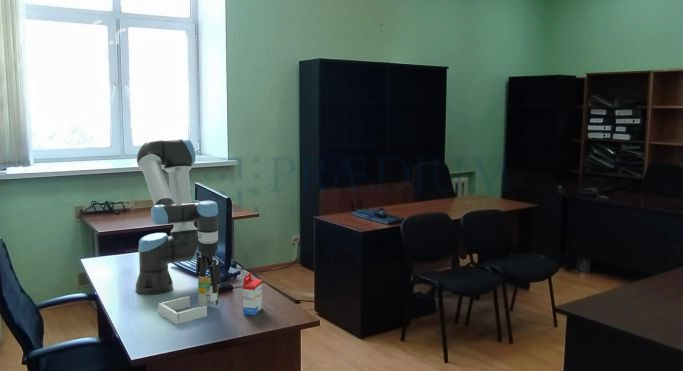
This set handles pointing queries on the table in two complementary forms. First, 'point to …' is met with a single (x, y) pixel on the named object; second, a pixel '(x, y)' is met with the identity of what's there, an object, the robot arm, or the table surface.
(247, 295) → the ink box
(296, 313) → the table surface
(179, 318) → the tray
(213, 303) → the crayon box
